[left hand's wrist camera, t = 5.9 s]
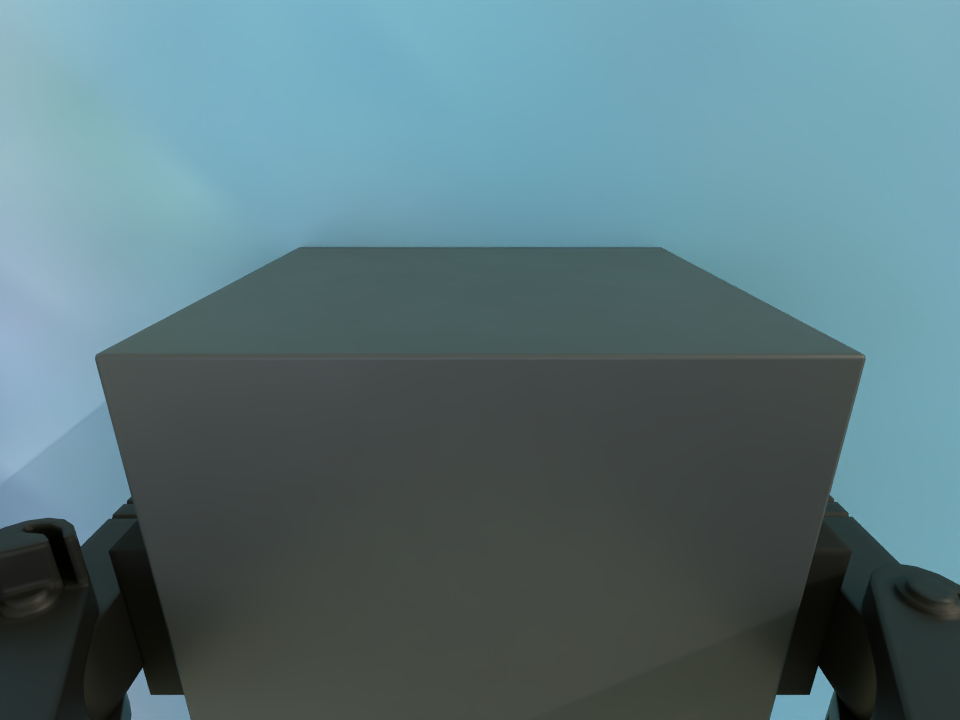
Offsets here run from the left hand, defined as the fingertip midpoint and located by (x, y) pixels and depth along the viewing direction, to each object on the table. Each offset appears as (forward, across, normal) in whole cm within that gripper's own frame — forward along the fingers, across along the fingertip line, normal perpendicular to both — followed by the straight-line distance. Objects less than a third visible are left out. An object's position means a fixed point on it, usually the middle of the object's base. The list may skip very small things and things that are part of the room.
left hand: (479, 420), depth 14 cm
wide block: (0, 0, -33) cm, 33 cm away
